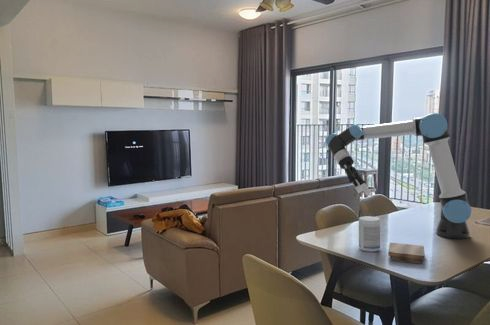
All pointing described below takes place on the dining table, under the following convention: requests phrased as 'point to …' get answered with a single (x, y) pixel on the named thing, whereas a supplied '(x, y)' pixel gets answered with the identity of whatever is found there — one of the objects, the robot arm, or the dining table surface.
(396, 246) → the walnut stand
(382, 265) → the dining table surface
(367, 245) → the supplement tub
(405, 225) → the dining table surface
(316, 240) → the dining table surface
